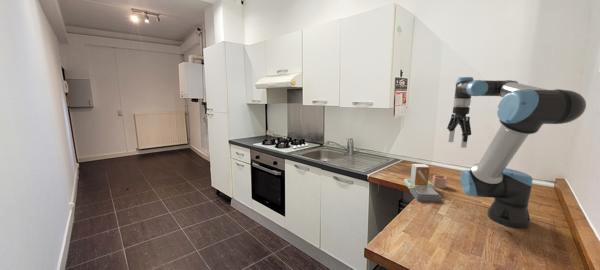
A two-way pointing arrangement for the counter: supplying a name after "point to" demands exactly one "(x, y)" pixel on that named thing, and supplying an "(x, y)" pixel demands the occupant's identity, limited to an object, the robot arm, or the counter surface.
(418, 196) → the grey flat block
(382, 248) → the counter surface
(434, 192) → the grey flat square panel
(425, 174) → the small box
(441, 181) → the cup
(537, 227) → the counter surface
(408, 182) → the mint green tray
